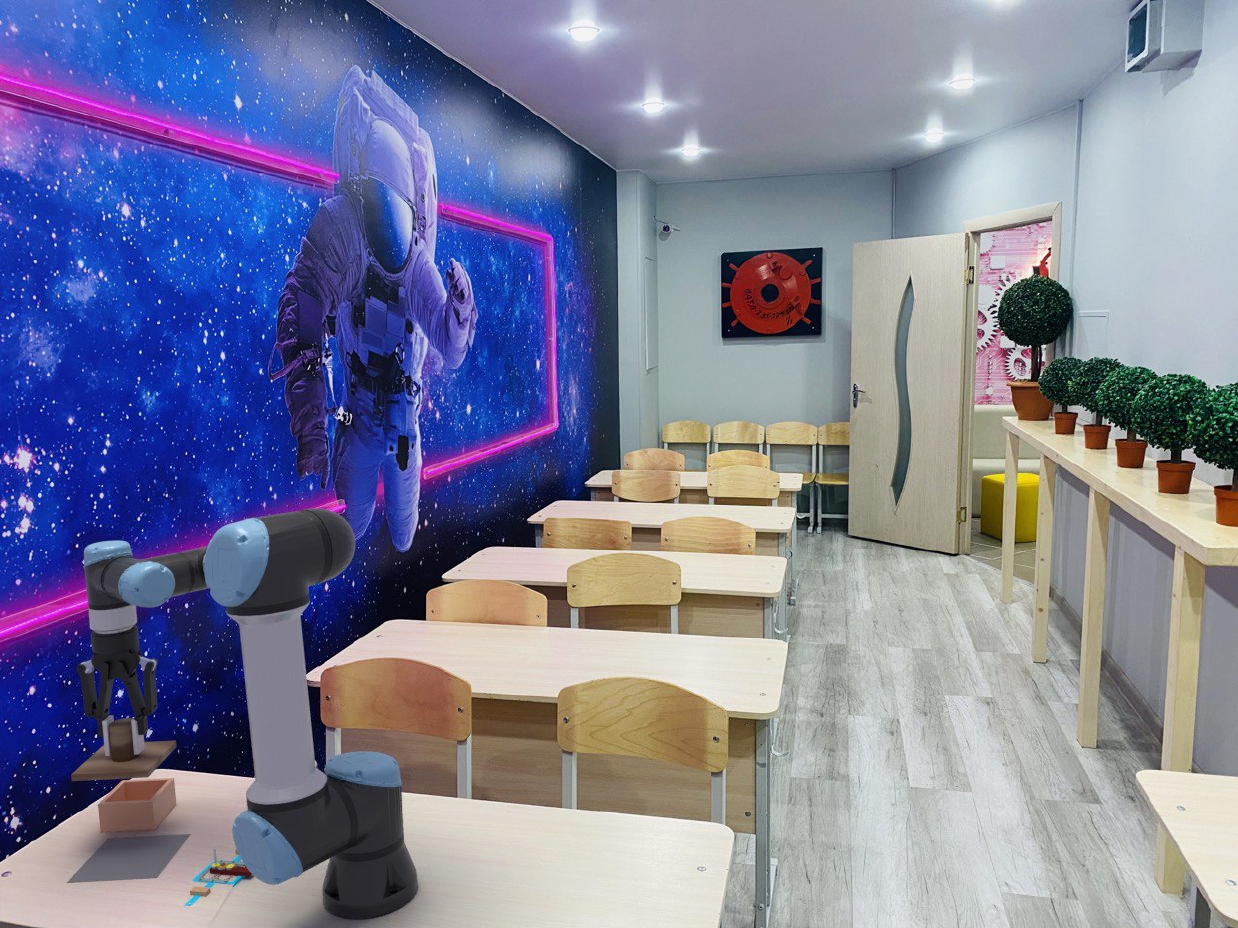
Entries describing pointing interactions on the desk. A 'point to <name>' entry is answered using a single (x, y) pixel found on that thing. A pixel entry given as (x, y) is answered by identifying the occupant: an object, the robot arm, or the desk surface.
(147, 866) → the rubber mat
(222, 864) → the gear mechanism
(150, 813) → the square bowl
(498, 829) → the desk surface
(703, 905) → the desk surface
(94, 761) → the walnut lid
